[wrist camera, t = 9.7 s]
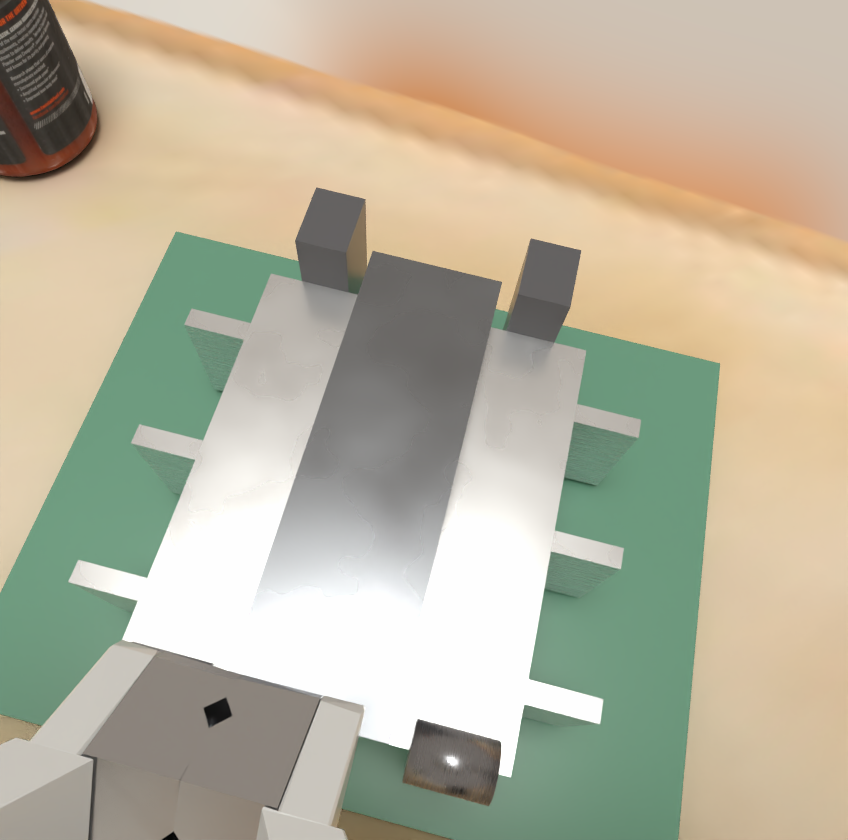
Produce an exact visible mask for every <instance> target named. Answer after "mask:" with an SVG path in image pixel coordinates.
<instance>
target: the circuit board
mask: <svg viewBox="0 0 848 840" xmlns="http://www.w3.org/2000/svg"><path fill="white" fill-rule="evenodd" d="M271 274H275V275H279V276H283V277H287V278H291V279H296V280H300V281H302V278H301V272H300V266H299V261H295V260H291V259H287V258H283V257H279V256H275V255H271V254H267V253H262V252H258V251H254V250H250V249H246V248H242V247H238V246H234V245H230V244H225V243H221V242H217V241H213V240H209V239H205V238H201V237H197V236H192V235H188V234H184V233H180V232H176V233H175V235H174V237H173V239H172V241H171V243H170V245H169V247H168V249H167V251H166V253H165V255H164V258H163V260H162V262H161V264H160V266H159V268H158V270H157V272H156V274H155V276H154V278H153V280H152V282H151V284H150V286H149V288H148V290H147V293H146V295H145V297H144V299H143V301H142V303H141V305H140V307H139V309H138V311H137V313H136V315H135V317H134V319H133V321H132V323H131V325H130V327H129V330H128V332H127V334H126V336H125V338H124V340H123V342H122V344H121V346H120V348H119V350H118V352H117V354H116V356H115V358H114V360H113V362H112V364H111V367H110V369H109V371H108V373H107V375H106V377H105V379H104V381H103V383H102V385H101V387H100V389H99V391H98V393H97V395H96V397H95V399H94V401H93V404H92V406H91V408H90V410H89V412H88V414H87V416H86V418H85V420H84V422H83V424H82V426H81V428H80V430H79V432H78V434H77V436H76V439H75V441H74V443H73V445H72V447H71V449H70V451H69V453H68V455H67V457H66V459H65V461H64V463H63V465H62V467H61V469H60V471H59V473H58V476H57V478H56V480H55V482H54V484H53V486H52V488H51V490H50V492H49V494H48V496H47V498H46V500H45V502H44V504H43V506H42V508H41V510H40V513H39V515H38V517H37V519H36V521H35V523H34V525H33V527H32V529H31V531H30V533H29V535H28V537H27V539H26V541H25V543H24V545H23V547H22V550H21V552H20V554H19V556H18V558H17V560H16V562H15V564H14V566H13V568H12V570H11V572H10V574H9V576H8V578H7V580H6V582H5V584H4V587H3V589H2V591H1V593H0V714H2V715H5V716H9V717H13V718H16V719H20V720H23V721H27V722H31V723H34V724H38V725H41V726H43V724H44V723H45V722H46V721H47V720H48V719H49V717H50V716H51V715H52V714H53V713H54V712H55V710H56V709H57V708H58V707H59V706H60V705H61V703H62V702H63V701H64V700H65V699H66V698H67V696H68V695H69V694H70V693H71V692H72V691H73V689H74V688H75V687H76V686H77V685H78V684H79V682H80V681H81V680H82V679H83V678H84V677H85V675H86V674H87V673H88V672H89V671H90V670H91V668H92V667H93V666H94V665H95V664H96V662H97V661H98V660H99V659H100V658H101V657H102V655H103V654H104V653H105V652H106V651H107V650H108V648H109V647H111V646H112V645H114V644H116V643H117V642H119V641H121V640H122V639H123V637H124V634H125V632H126V629H127V627H128V624H129V622H130V619H131V617H132V614H133V612H129V611H125V610H122V609H120V608H118V607H116V606H114V605H112V604H110V603H108V602H106V601H104V600H102V599H100V598H99V597H97V596H95V595H93V594H91V593H89V592H87V591H85V590H83V589H81V588H79V587H77V586H75V585H73V584H71V583H69V582H68V581H69V579H70V577H71V575H72V572H73V570H74V568H75V566H76V564H77V561H78V560H81V561H85V562H89V563H92V564H96V565H100V566H104V567H107V568H111V569H115V570H119V571H123V572H126V573H130V574H134V575H138V576H141V577H145V578H147V577H148V575H149V573H150V570H151V568H152V565H153V563H154V560H155V558H156V555H157V553H158V550H159V548H160V545H161V543H162V541H163V538H164V536H165V533H166V531H167V528H168V526H169V523H170V521H171V518H172V516H173V513H174V511H175V509H176V506H177V504H178V501H179V499H180V496H181V494H177V493H173V492H171V491H170V490H169V488H168V487H167V486H166V485H165V484H164V482H163V481H162V480H161V479H160V478H159V476H158V475H157V474H156V473H155V472H154V470H153V469H152V468H151V467H150V466H149V464H148V463H147V462H146V461H145V460H144V458H143V457H142V456H141V455H140V454H139V452H138V451H137V450H136V449H135V448H134V446H133V445H132V444H131V442H132V439H133V437H134V435H135V433H136V430H137V428H138V426H139V424H140V425H144V426H148V427H152V428H156V429H160V430H164V431H168V432H172V433H176V434H179V435H183V436H187V437H191V438H195V439H199V440H204V437H205V435H206V432H207V430H208V427H209V425H210V422H211V420H212V417H213V415H214V413H215V410H216V408H217V405H218V403H219V400H220V398H221V395H222V393H223V391H220V390H216V389H214V388H213V386H212V383H211V381H210V379H209V377H208V375H207V373H206V371H205V368H204V366H203V364H202V362H201V360H200V358H199V356H198V353H197V351H196V349H195V347H194V345H193V343H192V341H191V338H190V336H189V334H188V332H187V330H186V328H185V326H184V324H185V322H186V319H187V317H188V315H189V313H190V311H191V308H192V309H196V310H200V311H204V312H208V313H212V314H216V315H220V316H224V317H228V318H232V319H236V320H240V321H244V322H248V323H251V321H252V319H253V317H254V314H255V312H256V309H257V307H258V304H259V302H260V299H261V297H262V294H263V292H264V289H265V287H266V285H267V282H268V280H269V277H270V275H271ZM507 315H508V312H505V311H501V310H497V309H495V313H494V317H493V321H492V325H491V327H492V328H496V329H500V330H503V328H504V325H505V321H506V318H507ZM554 343H558V344H562V345H566V346H570V347H574V348H578V349H582V350H586V356H585V362H584V367H583V373H582V379H581V384H580V390H579V395H578V401H577V404H579V405H583V406H587V407H592V408H596V409H600V410H604V411H608V412H612V413H616V414H620V415H624V416H628V417H632V418H636V419H640V420H641V424H640V432H639V438H638V439H637V440H636V441H635V443H634V444H633V445H632V446H631V447H630V448H629V450H628V451H627V452H626V453H625V454H624V455H623V456H622V458H621V459H620V460H619V461H618V462H617V463H616V465H615V466H614V467H613V468H612V469H611V470H610V471H609V473H608V474H607V475H606V476H605V477H604V478H603V480H602V481H601V482H600V483H599V484H598V485H593V484H589V483H585V482H581V481H577V480H573V479H569V478H565V477H564V480H563V486H562V491H561V497H560V503H559V508H558V514H557V520H556V525H555V531H559V532H563V533H566V534H570V535H574V536H578V537H582V538H586V539H590V540H594V541H598V542H602V543H605V544H609V545H613V546H617V547H621V548H624V550H623V558H622V565H621V570H619V571H618V572H616V573H615V574H613V575H612V576H611V577H609V578H608V579H606V580H605V581H603V582H602V583H601V584H599V585H598V586H596V587H595V588H593V589H592V590H590V591H589V592H588V593H586V594H585V595H583V596H582V597H580V598H577V597H574V596H570V595H566V594H562V593H558V592H554V591H551V590H547V589H544V593H543V599H542V604H541V610H540V616H539V621H538V627H537V632H536V638H535V644H534V649H533V655H532V661H531V666H530V672H529V678H528V679H529V680H533V681H537V682H540V683H544V684H548V685H552V686H555V687H559V688H563V689H567V690H570V691H574V692H578V693H582V694H586V695H589V696H593V697H597V698H601V699H603V706H602V713H601V721H600V724H596V725H581V726H566V727H558V726H554V725H550V724H547V723H543V722H539V721H535V720H532V719H528V718H524V717H521V723H520V728H519V734H518V740H517V745H516V751H515V757H514V762H513V768H512V774H511V777H508V776H504V775H501V774H499V775H498V780H497V785H496V789H495V792H494V796H493V799H492V801H491V804H490V805H489V806H485V805H482V804H478V803H474V802H471V801H467V800H463V799H460V798H456V797H452V796H449V795H445V794H441V793H438V792H434V791H431V790H427V789H423V788H420V787H416V786H412V785H409V784H405V783H402V779H403V774H404V768H405V764H406V759H407V755H408V750H409V749H405V748H401V747H398V746H394V745H390V744H386V743H382V742H378V741H375V740H371V739H367V738H364V737H360V736H359V738H358V743H357V747H356V751H355V755H354V759H353V763H352V767H351V772H350V776H349V780H348V784H347V788H346V792H345V796H344V800H343V805H342V809H345V810H348V811H352V812H355V813H359V814H363V815H366V816H370V817H373V818H377V819H381V820H384V821H388V822H392V823H395V824H399V825H402V826H406V827H410V828H413V829H417V830H420V831H424V832H428V833H431V834H435V835H438V836H442V837H446V838H449V839H453V840H678V835H679V823H680V812H681V801H682V789H683V778H684V767H685V755H686V744H687V733H688V721H689V710H690V699H691V687H692V676H693V665H694V653H695V642H696V631H697V619H698V608H699V597H700V585H701V574H702V563H703V551H704V540H705V529H706V517H707V506H708V495H709V483H710V472H711V461H712V449H713V438H714V427H715V415H716V404H717V393H718V381H719V370H720V363H715V362H711V361H707V360H703V359H699V358H695V357H691V356H687V355H683V354H678V353H674V352H670V351H666V350H662V349H658V348H654V347H650V346H645V345H641V344H637V343H633V342H629V341H625V340H621V339H617V338H613V337H608V336H604V335H600V334H596V333H592V332H588V331H584V330H580V329H575V328H571V327H567V326H563V325H562V327H561V329H560V331H559V333H558V336H557V338H556V340H555V342H554Z"/></svg>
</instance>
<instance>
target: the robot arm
mask: <svg viewBox="0 0 848 840" xmlns="http://www.w3.org/2000/svg"><path fill="white" fill-rule="evenodd" d="M364 712H365V707H364V705H360V704H356V703H352V702H348V701H344V700H340V699H336V698H333V697H329V696H325V695H324V696H323V695H319V694H315V693H311V692H308V691H304V690H300V689H296V688H292V687H289V686H285V685H281V684H277V683H273V682H270V681H266V680H262V679H258V678H254V677H251V676H247V675H242V674H238V673H235V672H232V671H228V670H225V669H222V668H218V667H215V666H212V665H208V664H205V663H202V662H198V661H195V660H192V659H188V658H185V657H182V656H178V655H175V654H172V653H168V652H165V651H162V652H161V651H157V650H154V649H151V648H148V647H145V646H141V645H138V644H135V643H132V642H128V641H125V640H121V641H119V642H117V643H116V644H114V645H112V646H111V647H109V648H108V650H107V651H106V652H105V653H104V654H103V655H102V657H101V658H100V659H99V660H98V661H97V662H96V664H95V665H94V666H93V667H92V668H91V670H90V671H89V672H88V673H87V674H86V675H85V677H84V678H83V679H82V680H81V681H80V682H79V684H78V685H77V686H76V687H75V688H74V689H73V691H72V692H71V693H70V694H69V695H68V696H67V698H66V699H65V700H64V701H63V702H62V703H61V705H60V706H59V707H58V708H57V709H56V710H55V712H54V713H53V714H52V715H51V716H50V717H49V719H48V720H47V721H46V722H45V723H44V724H43V726H42V727H41V728H40V729H39V730H38V731H37V733H36V734H35V735H34V736H33V737H32V738H31V740H30V741H28V740H24V739H20V738H14V739H12V740H9V741H7V742H5V743H3V744H0V840H348V839H347V836H346V833H345V830H342V829H339V828H337V825H338V821H339V817H340V813H341V809H342V805H343V800H344V796H345V792H346V788H347V784H348V780H349V776H350V772H351V767H352V763H353V759H354V755H355V751H356V747H357V743H358V738H359V734H360V730H361V726H362V722H363V718H364Z"/></svg>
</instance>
